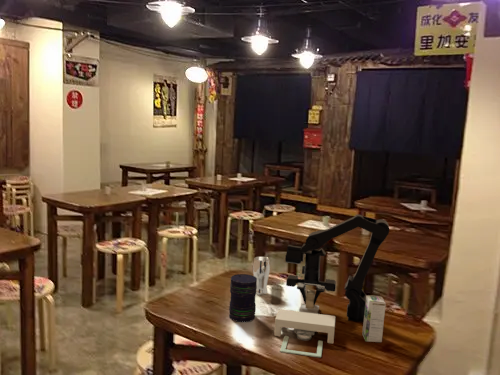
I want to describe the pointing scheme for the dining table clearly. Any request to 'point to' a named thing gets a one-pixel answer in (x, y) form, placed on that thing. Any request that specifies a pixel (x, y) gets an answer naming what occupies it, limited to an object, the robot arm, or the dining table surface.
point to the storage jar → (242, 298)
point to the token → (304, 335)
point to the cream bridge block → (305, 322)
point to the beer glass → (261, 274)
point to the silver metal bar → (309, 307)
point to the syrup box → (373, 319)
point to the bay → (283, 349)
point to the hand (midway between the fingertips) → (309, 304)
